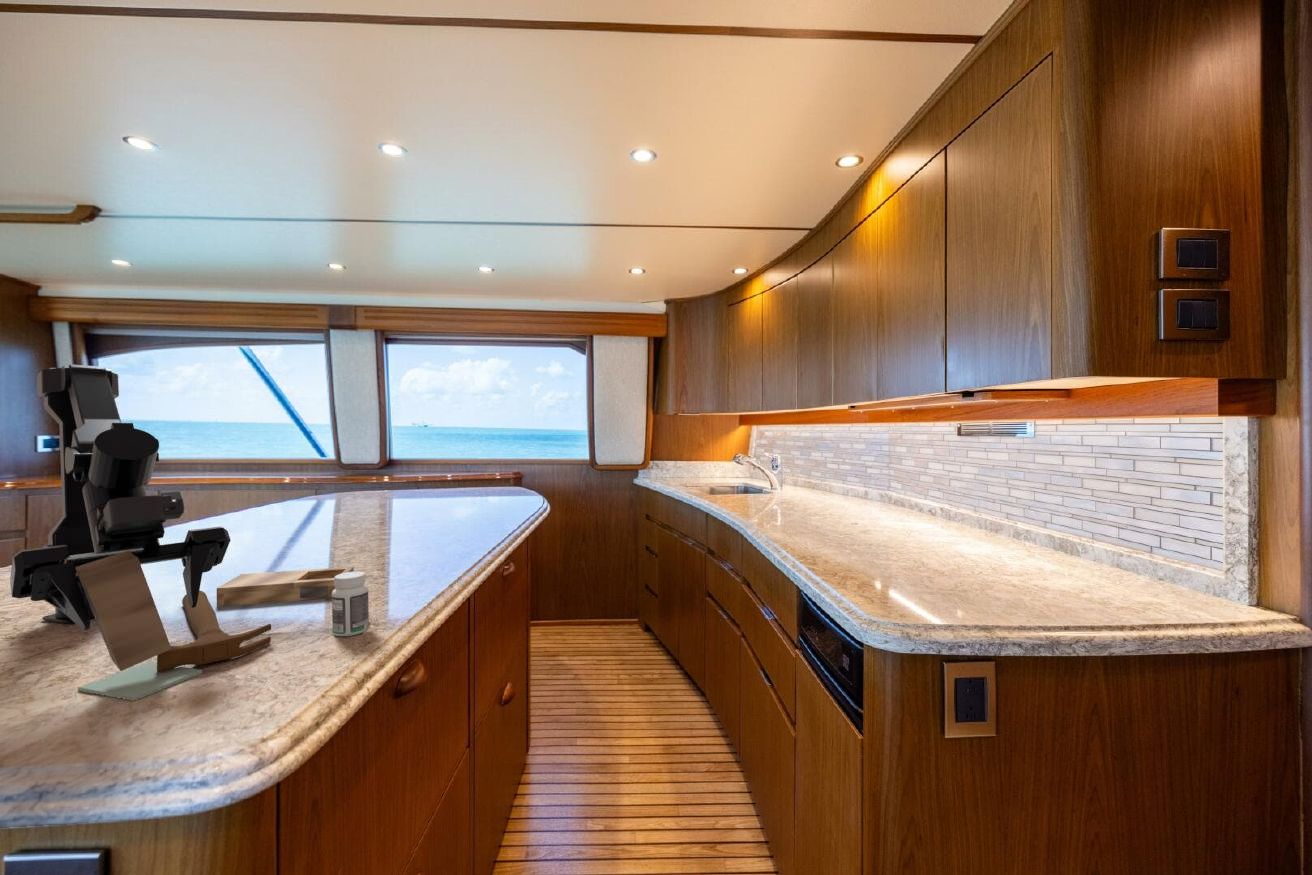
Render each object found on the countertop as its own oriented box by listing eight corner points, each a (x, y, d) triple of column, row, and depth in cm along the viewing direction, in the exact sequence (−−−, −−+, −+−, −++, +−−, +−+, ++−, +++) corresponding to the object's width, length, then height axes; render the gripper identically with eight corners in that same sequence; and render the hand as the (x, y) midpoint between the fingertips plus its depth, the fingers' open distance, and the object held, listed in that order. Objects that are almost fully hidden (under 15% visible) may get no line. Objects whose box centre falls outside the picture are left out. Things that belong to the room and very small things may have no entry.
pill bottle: (372, 624, 82) (371, 569, 82) (364, 635, 78) (363, 577, 78) (337, 627, 81) (337, 571, 81) (327, 639, 77) (327, 580, 76)
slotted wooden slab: (215, 613, 87) (215, 589, 87) (241, 596, 96) (241, 574, 96) (340, 603, 92) (340, 580, 92) (353, 587, 101) (353, 566, 101)
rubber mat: (77, 690, 61) (77, 687, 61) (149, 664, 68) (149, 661, 68) (133, 700, 59) (133, 697, 59) (202, 673, 66) (202, 669, 66)
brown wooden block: (111, 659, 63) (74, 567, 60) (160, 638, 67) (128, 550, 64) (120, 671, 60) (82, 575, 58) (171, 648, 64) (138, 557, 61)
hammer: (157, 614, 86) (156, 676, 64) (158, 594, 86) (157, 649, 64) (248, 601, 94) (275, 653, 72) (249, 583, 94) (276, 629, 72)
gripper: (11, 476, 58) (27, 596, 52) (224, 467, 73) (256, 558, 67) (4, 540, 62) (18, 658, 56) (206, 519, 78) (234, 609, 72)
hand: (143, 616), depth 63 cm, fingers open, 9 cm apart
